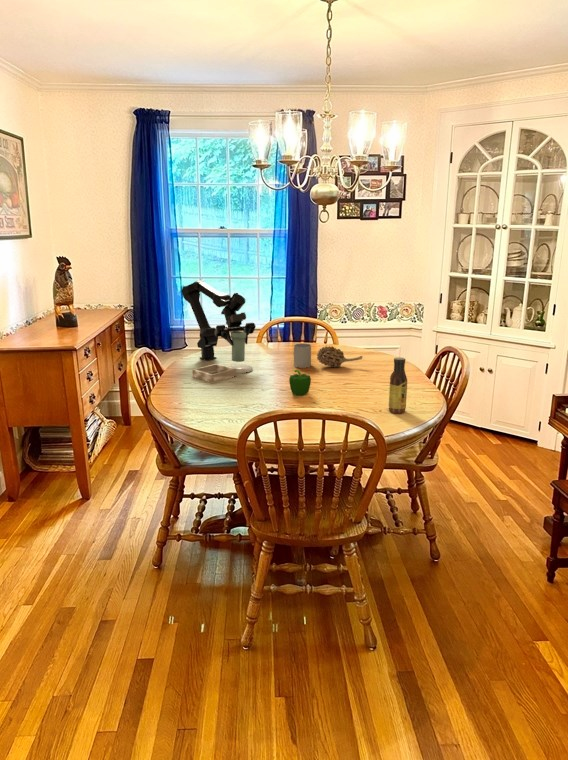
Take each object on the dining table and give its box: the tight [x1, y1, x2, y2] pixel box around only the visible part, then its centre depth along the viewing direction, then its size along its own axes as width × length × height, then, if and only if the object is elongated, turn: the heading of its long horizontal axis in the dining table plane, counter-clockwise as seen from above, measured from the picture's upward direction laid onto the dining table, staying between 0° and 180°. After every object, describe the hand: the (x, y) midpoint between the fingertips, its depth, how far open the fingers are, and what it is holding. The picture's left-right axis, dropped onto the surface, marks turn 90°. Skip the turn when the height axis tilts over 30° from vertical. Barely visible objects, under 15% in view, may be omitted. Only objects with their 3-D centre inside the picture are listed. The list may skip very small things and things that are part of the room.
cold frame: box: [191, 363, 238, 384], centre depth 252 cm, size 14×14×4 cm
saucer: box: [228, 364, 254, 374], centre depth 263 cm, size 12×12×1 cm
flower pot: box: [230, 331, 246, 363], centre depth 260 cm, size 7×7×13 cm
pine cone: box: [316, 345, 364, 368], centre depth 265 cm, size 22×10×10 cm, turn 85°
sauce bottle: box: [388, 356, 408, 414], centre depth 203 cm, size 7×6×20 cm
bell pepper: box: [288, 369, 312, 397], centre depth 225 cm, size 8×8×10 cm
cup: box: [293, 343, 312, 369], centre depth 269 cm, size 8×8×10 cm
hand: (239, 344), depth 258 cm, fingers closed on flower pot, 6 cm apart
